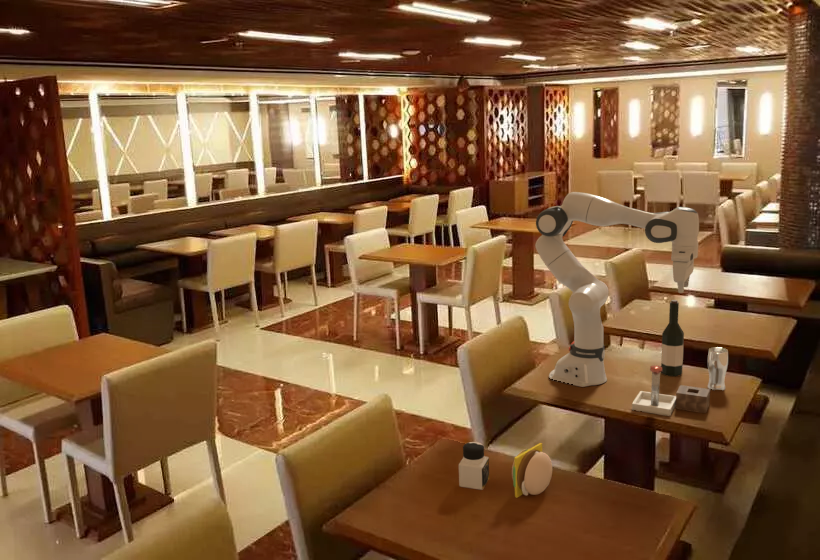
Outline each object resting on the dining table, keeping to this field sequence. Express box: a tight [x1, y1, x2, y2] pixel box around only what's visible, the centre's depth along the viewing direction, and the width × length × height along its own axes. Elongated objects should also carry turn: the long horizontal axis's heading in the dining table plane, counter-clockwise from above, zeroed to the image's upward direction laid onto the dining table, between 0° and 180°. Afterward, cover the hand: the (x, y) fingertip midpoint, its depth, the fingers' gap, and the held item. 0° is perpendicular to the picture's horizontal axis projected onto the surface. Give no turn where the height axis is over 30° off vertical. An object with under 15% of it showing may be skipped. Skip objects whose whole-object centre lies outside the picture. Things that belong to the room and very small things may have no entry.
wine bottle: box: [660, 299, 685, 377], centre depth 283 cm, size 8×8×30 cm
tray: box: [631, 390, 676, 417], centre depth 254 cm, size 13×13×2 cm
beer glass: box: [707, 346, 729, 391], centre depth 267 cm, size 7×7×15 cm
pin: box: [649, 364, 662, 406], centre depth 253 cm, size 4×4×14 cm
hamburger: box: [511, 442, 553, 498], centre depth 200 cm, size 12×8×12 cm
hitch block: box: [675, 384, 711, 414], centre depth 252 cm, size 10×8×6 cm
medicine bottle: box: [458, 441, 490, 491], centre depth 206 cm, size 7×7×12 cm
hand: (683, 289), depth 259 cm, fingers open, 8 cm apart
